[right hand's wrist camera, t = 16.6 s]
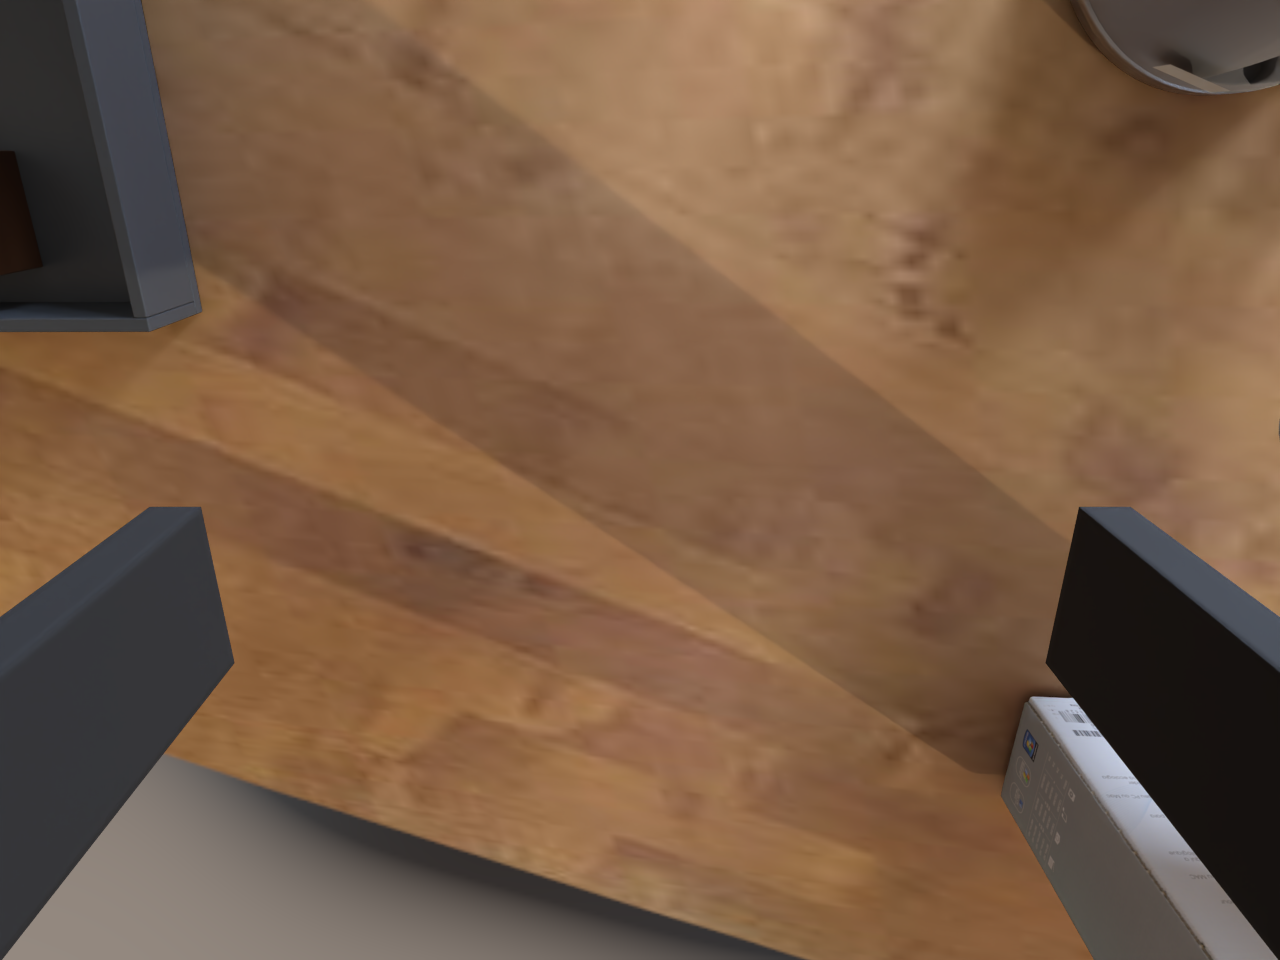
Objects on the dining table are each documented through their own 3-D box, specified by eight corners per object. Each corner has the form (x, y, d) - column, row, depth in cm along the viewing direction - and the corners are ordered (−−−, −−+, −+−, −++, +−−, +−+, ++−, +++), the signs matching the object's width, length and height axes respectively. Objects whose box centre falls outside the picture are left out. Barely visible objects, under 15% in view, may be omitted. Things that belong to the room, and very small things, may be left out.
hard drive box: (995, 796, 51) (1200, 1172, 32) (1022, 691, 48) (1265, 1038, 29) (1247, 806, 51) (1595, 1184, 32) (1290, 702, 48) (1698, 1052, 29)
